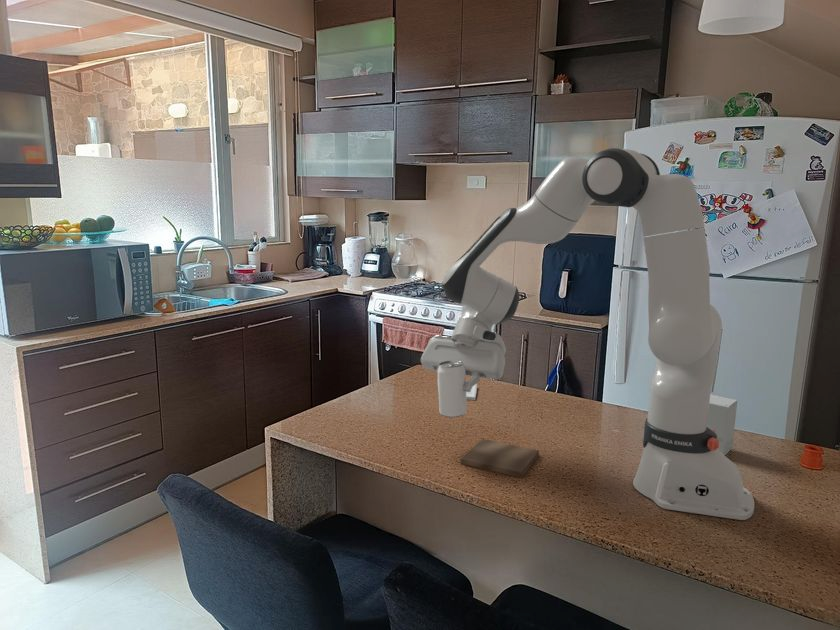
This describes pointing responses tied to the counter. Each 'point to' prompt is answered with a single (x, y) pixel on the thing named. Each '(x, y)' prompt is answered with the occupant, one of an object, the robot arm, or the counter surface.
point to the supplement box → (722, 421)
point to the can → (452, 389)
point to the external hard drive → (472, 393)
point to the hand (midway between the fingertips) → (452, 388)
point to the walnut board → (500, 457)
